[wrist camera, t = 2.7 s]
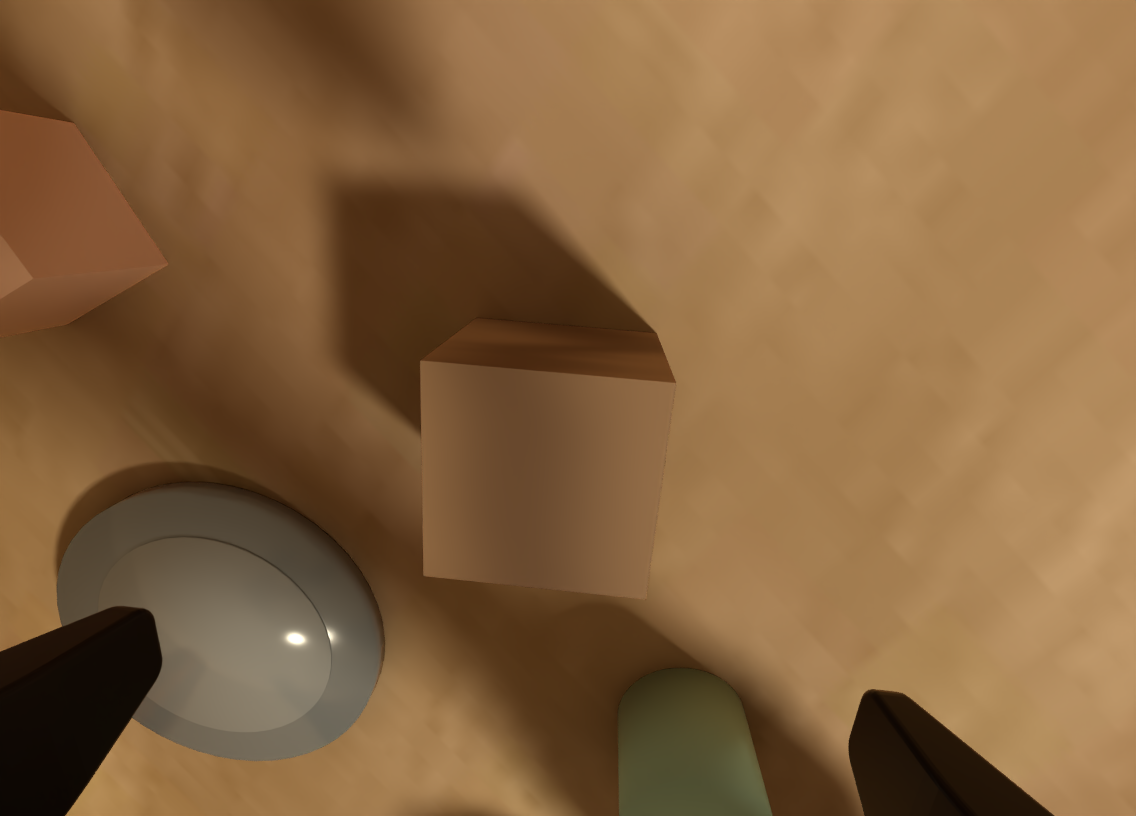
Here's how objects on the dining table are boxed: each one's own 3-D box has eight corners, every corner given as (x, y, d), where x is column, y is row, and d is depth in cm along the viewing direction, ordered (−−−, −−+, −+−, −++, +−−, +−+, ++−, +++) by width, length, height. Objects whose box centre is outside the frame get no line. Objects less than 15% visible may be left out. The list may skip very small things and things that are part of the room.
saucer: (378, 499, 18) (366, 513, 17) (389, 757, 21) (380, 780, 20) (46, 466, 18) (17, 478, 17) (111, 723, 22) (91, 744, 21)
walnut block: (656, 332, 16) (676, 382, 11) (636, 493, 17) (645, 599, 12) (477, 317, 16) (419, 361, 11) (474, 478, 17) (423, 576, 13)
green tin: (754, 674, 19) (790, 788, 15) (733, 770, 20) (760, 896, 17) (624, 660, 19) (627, 769, 15) (611, 755, 21) (612, 877, 17)
